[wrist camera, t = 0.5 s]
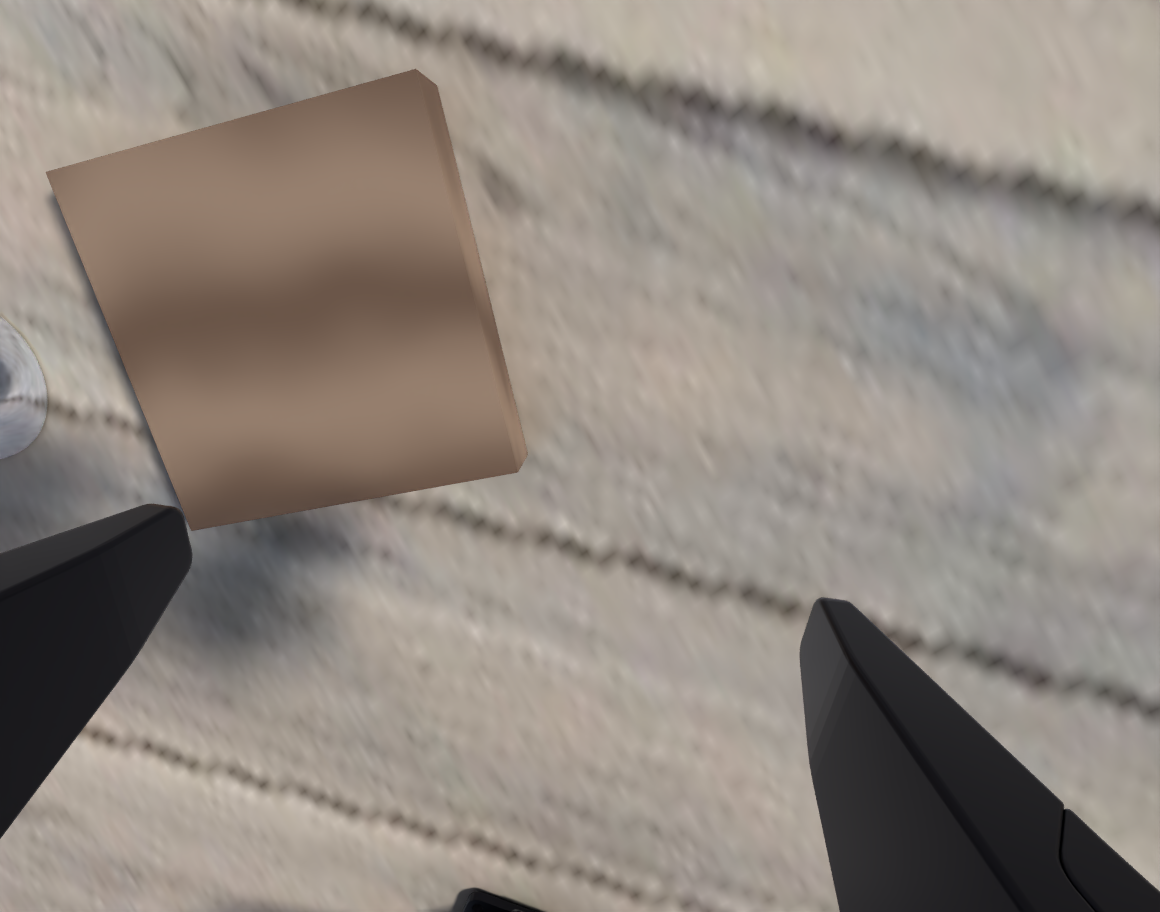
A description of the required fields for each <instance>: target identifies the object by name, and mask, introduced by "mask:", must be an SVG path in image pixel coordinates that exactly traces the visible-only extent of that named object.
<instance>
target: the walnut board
mask: <svg viewBox="0 0 1160 912" xmlns="http://www.w3.org/2000/svg"><path fill="white" fill-rule="evenodd" d="M46 174H47V177H48V179H49V182H50V184H51V187H52V189H53V192H54V194H55V196H56V199H57V201H58V204H59V206H60V209H61V211H62V214H63V216H64V219H65V221H66V224H67V226H68V228H69V231H70V233H71V236H72V238H73V241H74V243H75V246H76V248H77V251H78V253H79V256H80V258H81V260H82V263H83V265H84V268H85V270H86V273H87V275H88V278H89V280H90V283H91V285H92V288H93V290H94V292H95V295H96V297H97V300H98V302H99V305H100V307H101V310H102V312H103V315H104V317H105V320H106V322H107V325H108V327H109V329H110V332H111V334H112V337H113V339H114V342H115V344H116V347H117V349H118V352H119V354H120V357H121V359H122V361H123V364H124V366H125V369H126V371H127V374H128V376H129V379H130V381H131V384H132V386H133V389H134V391H135V393H136V396H137V398H138V401H139V403H140V406H141V408H142V411H143V413H144V416H145V418H146V421H147V423H148V425H149V428H150V430H151V433H152V435H153V438H154V440H155V443H156V445H157V448H158V450H159V453H160V455H161V457H162V460H163V462H164V465H165V467H166V470H167V472H168V475H169V477H170V480H171V482H172V485H173V487H174V489H175V492H176V494H177V497H178V499H179V502H180V504H181V507H182V509H183V512H184V514H185V517H186V519H187V522H188V524H189V526H190V529H191V531H193V530H199V529H205V528H210V527H216V526H221V525H227V524H232V523H238V522H244V521H249V520H255V519H260V518H266V517H272V516H277V515H283V514H288V513H294V512H299V511H305V510H311V509H316V508H322V507H327V506H333V505H339V504H344V503H350V502H355V501H361V500H366V499H372V498H378V497H383V496H389V495H394V494H400V493H406V492H411V491H417V490H422V489H428V488H434V487H439V486H445V485H450V484H456V483H461V482H467V481H473V480H478V479H484V478H489V477H495V476H501V475H506V474H512V473H517V472H518V471H519V469H520V468H521V466H522V464H523V462H524V461H525V459H526V457H527V455H528V452H527V448H526V444H525V440H524V436H523V432H522V428H521V424H520V420H519V416H518V412H517V408H516V404H515V400H514V396H513V392H512V388H511V383H510V379H509V375H508V371H507V367H506V363H505V359H504V355H503V351H502V347H501V343H500V339H499V335H498V331H497V327H496V323H495V319H494V315H493V311H492V307H491V302H490V298H489V294H488V290H487V286H486V282H485V278H484V274H483V270H482V266H481V262H480V258H479V254H478V250H477V246H476V242H475V238H474V234H473V230H472V225H471V221H470V217H469V213H468V209H467V205H466V201H465V197H464V193H463V189H462V185H461V181H460V177H459V173H458V169H457V165H456V161H455V157H454V153H453V148H452V144H451V140H450V136H449V132H448V128H447V124H446V120H445V116H444V112H443V108H442V104H441V100H440V96H439V92H438V88H437V85H436V84H434V83H433V82H432V81H431V80H429V79H428V78H427V77H425V76H424V75H423V74H422V73H420V72H419V71H418V70H416V69H414V70H410V71H407V72H403V73H400V74H396V75H392V76H389V77H385V78H382V79H378V80H374V81H371V82H367V83H364V84H360V85H356V86H353V87H349V88H346V89H342V90H338V91H335V92H331V93H328V94H324V95H321V96H317V97H313V98H310V99H306V100H303V101H299V102H295V103H292V104H288V105H285V106H281V107H277V108H274V109H270V110H267V111H263V112H259V113H256V114H252V115H249V116H245V117H242V118H238V119H234V120H231V121H227V122H224V123H220V124H216V125H213V126H209V127H206V128H202V129H198V130H195V131H191V132H188V133H184V134H180V135H177V136H173V137H170V138H166V139H163V140H159V141H155V142H152V143H148V144H145V145H141V146H137V147H134V148H130V149H127V150H123V151H119V152H116V153H112V154H109V155H105V156H101V157H98V158H94V159H91V160H87V161H84V162H80V163H76V164H73V165H69V166H66V167H62V168H58V169H55V170H51V171H48V172H46Z"/></svg>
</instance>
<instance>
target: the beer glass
mask: <svg viewBox="0 0 1160 912" xmlns="http://www.w3.org/2000/svg"><path fill="white" fill-rule="evenodd" d="M46 413H47V389H46V383H45V379H44V376H43V373H42V370H41V367H40V365H39V363H38V361H37V359H36V357H35V355H34V353H33V351H32V350H31V348H30V347H29V345H28V344H27V342H26V341H25V340H24V339H23V337H22V336H21V335H20V334H19V333H18V332H17V331H16V330H15V329H14V328H13V327H12V326H11V325H10V324H9V323H8V322H7V321H6V320H4V319H3V318H2V317H0V459H2V458H6V457H9V456H12V455H14V454H17V453H18V452H20V451H22V450H23V449H25V448H26V447H28V446H29V445H30V444H31V443H32V442H33V441H34V440H35V439H36V437H37V436H38V434H39V433H40V431H41V429H42V427H43V424H44V421H45V418H46Z"/></svg>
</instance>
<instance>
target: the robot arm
mask: <svg viewBox="0 0 1160 912" xmlns="http://www.w3.org/2000/svg"><path fill="white" fill-rule="evenodd" d="M191 563H192V549H191V545H190V541H189V537H188V533H187V528H186V524H185V520H184V516H183V514H182V512H181V511H180V510H179V509H178V508H176V507H172V506H165V505H158V504H146V505H142V506H139V507H136V508H133V509H130V510H127V511H124V512H121V513H119V514H116V515H113V516H110V517H107V518H104V519H101V520H98V521H95V522H92V523H89V524H86V525H83V526H80V527H77V528H74V529H71V530H68V531H65V532H62V533H60V534H57V535H54V536H51V537H48V538H45V539H42V540H39V541H36V542H33V543H30V544H27V545H24V546H21V547H18V548H15V549H12V550H9V551H6V552H3V553H0V839H1V837H2V836H3V835H4V833H5V832H6V831H7V829H8V828H9V827H10V825H11V824H12V823H13V821H14V820H15V819H16V817H17V816H18V815H19V813H20V812H21V811H22V809H23V808H24V807H25V805H26V804H27V803H28V801H29V800H30V799H31V797H32V796H33V795H34V793H35V792H36V791H37V789H38V788H39V787H40V785H41V784H42V783H43V781H44V780H45V779H46V777H47V776H48V775H49V773H50V772H51V771H52V769H53V768H54V767H55V765H56V764H57V763H58V761H59V760H60V759H61V757H62V756H63V755H64V753H65V752H66V751H67V749H68V748H69V747H70V745H71V744H72V743H73V741H74V740H75V739H76V737H77V736H78V735H79V733H80V732H81V731H82V729H83V728H84V727H85V725H86V724H87V723H88V721H89V720H90V719H91V718H92V716H93V715H94V714H95V712H96V711H97V710H98V708H99V707H100V706H101V704H102V703H103V702H104V700H105V699H106V698H107V696H108V695H109V694H110V692H111V691H112V690H113V688H114V687H115V686H116V684H117V683H118V682H119V680H120V679H121V678H122V676H123V675H124V674H125V672H126V671H127V669H128V668H129V667H130V665H131V664H132V662H133V661H134V659H135V658H136V656H137V655H138V653H139V652H140V650H141V649H142V647H143V646H144V644H145V642H146V641H147V639H148V637H149V636H150V634H151V632H152V631H153V629H154V627H155V626H156V624H157V622H158V621H159V619H160V618H161V616H162V614H163V613H164V611H165V609H166V608H167V606H168V604H169V603H170V601H171V599H172V598H173V596H174V594H175V593H176V591H177V589H178V588H179V586H180V585H181V583H182V581H183V580H184V578H185V576H186V575H187V573H188V571H189V569H190V566H191ZM800 668H801V680H802V691H803V702H804V713H805V724H806V735H807V746H808V755H809V764H810V769H811V775H812V780H813V785H814V790H815V795H816V800H817V805H818V809H819V814H820V819H821V824H822V828H823V833H824V838H825V843H826V848H827V852H828V857H829V862H830V867H831V872H832V876H833V881H834V886H835V891H836V895H837V900H838V905H839V910H840V912H1160V891H1159V890H1158V889H1156V888H1155V887H1154V886H1153V885H1152V884H1151V883H1149V882H1148V881H1147V880H1146V879H1145V878H1144V877H1143V876H1142V875H1141V874H1140V873H1138V872H1137V871H1136V870H1135V869H1134V868H1133V867H1132V866H1131V865H1130V864H1129V863H1128V862H1126V861H1125V860H1124V859H1123V858H1122V857H1121V856H1120V855H1119V854H1118V853H1117V852H1115V851H1114V850H1113V849H1112V848H1111V847H1110V846H1109V845H1108V844H1107V843H1106V842H1105V841H1103V840H1102V839H1101V838H1100V837H1099V836H1098V835H1097V834H1096V833H1095V832H1094V831H1093V830H1092V829H1091V828H1090V827H1089V826H1087V825H1086V824H1085V823H1084V822H1083V821H1082V820H1081V819H1080V818H1079V817H1078V816H1077V815H1076V814H1075V813H1074V812H1073V811H1071V810H1070V809H1064V804H1063V802H1062V801H1061V800H1060V799H1059V798H1057V797H1056V796H1055V795H1054V794H1053V793H1052V792H1051V791H1050V790H1049V789H1048V788H1047V787H1046V786H1045V785H1044V784H1043V783H1042V782H1040V781H1039V780H1038V779H1037V778H1036V777H1035V776H1034V775H1033V774H1032V773H1031V772H1030V771H1029V770H1028V769H1027V768H1026V767H1025V766H1024V765H1022V764H1021V763H1020V762H1019V761H1018V760H1017V759H1016V758H1015V757H1014V756H1013V755H1012V754H1011V753H1010V752H1009V751H1008V750H1007V749H1005V748H1004V747H1003V746H1002V745H1001V744H1000V743H999V742H998V741H997V740H996V739H995V738H994V737H993V736H992V735H991V734H990V733H989V732H987V731H986V730H985V729H984V728H983V727H982V726H981V725H980V724H979V723H978V722H977V721H976V720H975V719H974V718H973V717H972V716H971V715H969V714H968V713H967V712H966V711H965V710H964V709H963V708H962V707H961V706H960V705H959V704H958V703H957V702H956V701H955V700H954V699H952V698H951V697H950V696H949V695H948V694H947V693H946V692H945V691H944V690H943V689H942V688H941V687H940V686H939V685H938V684H937V683H936V682H934V681H933V680H932V679H931V678H930V677H929V676H928V675H927V674H926V673H925V672H924V671H923V670H922V669H921V668H920V667H919V666H917V665H916V664H915V663H914V662H913V661H912V660H911V659H910V658H909V657H908V656H907V655H906V654H905V653H904V652H903V651H902V650H901V649H899V648H898V647H897V646H896V645H895V644H894V643H893V642H892V641H891V640H890V639H889V638H888V637H887V636H886V635H885V634H884V633H883V632H881V631H880V630H879V629H878V628H877V627H876V626H875V625H874V624H873V623H872V622H871V621H870V620H869V619H868V618H867V617H866V616H864V615H863V614H862V613H861V612H860V611H859V610H858V609H857V608H856V607H855V606H854V605H853V604H851V603H850V602H848V601H845V600H839V599H832V598H824V597H821V598H819V599H817V600H816V602H815V603H814V605H813V608H812V611H811V614H810V617H809V620H808V623H807V626H806V629H805V632H804V635H803V638H802V641H801V645H800ZM462 912H534V911H532V910H529V909H526V908H524V907H521V906H518V905H516V904H513V903H510V902H508V901H505V900H502V899H500V898H497V897H494V896H491V895H489V894H486V893H483V892H473V893H471V895H470V896H469V898H468V900H467V902H466V905H465V907H464V909H463V911H462Z"/></svg>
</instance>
